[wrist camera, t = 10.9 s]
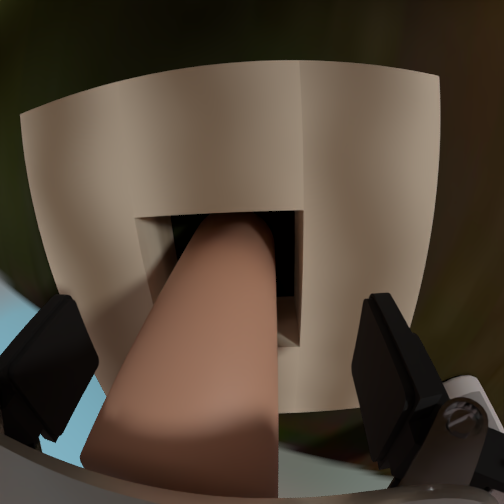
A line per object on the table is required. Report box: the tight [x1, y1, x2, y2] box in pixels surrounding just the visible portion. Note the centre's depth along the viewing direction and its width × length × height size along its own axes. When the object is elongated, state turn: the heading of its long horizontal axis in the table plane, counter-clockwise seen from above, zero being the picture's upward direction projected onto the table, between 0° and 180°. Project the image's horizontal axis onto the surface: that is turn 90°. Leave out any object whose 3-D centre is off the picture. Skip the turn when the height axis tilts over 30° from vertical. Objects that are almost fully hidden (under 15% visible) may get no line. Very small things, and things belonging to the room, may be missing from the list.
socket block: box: [20, 60, 440, 413], centre depth 13 cm, size 16×16×4 cm
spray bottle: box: [443, 375, 504, 433], centre depth 12 cm, size 7×7×18 cm
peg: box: [80, 212, 278, 498], centre depth 10 cm, size 4×4×12 cm
